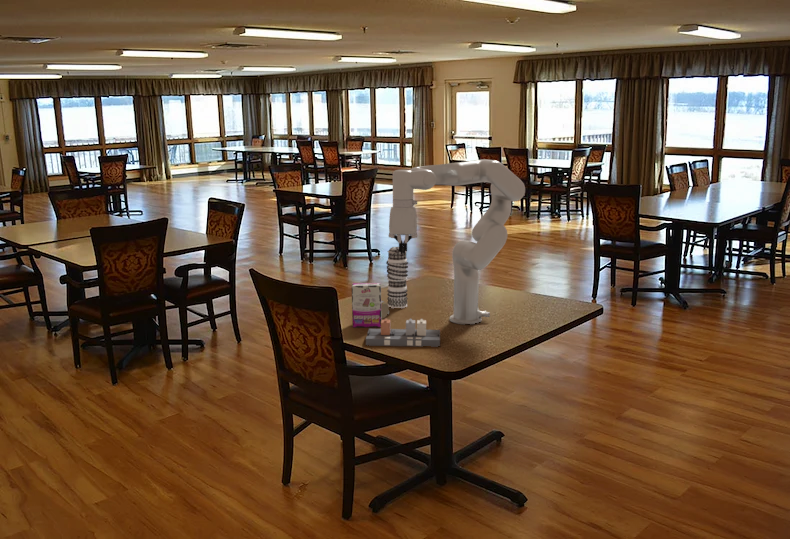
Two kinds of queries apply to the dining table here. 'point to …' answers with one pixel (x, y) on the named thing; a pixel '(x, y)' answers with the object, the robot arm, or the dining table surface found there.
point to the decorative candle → (397, 278)
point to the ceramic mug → (384, 309)
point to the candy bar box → (366, 305)
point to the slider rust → (385, 327)
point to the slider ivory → (421, 327)
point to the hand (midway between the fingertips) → (403, 253)
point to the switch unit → (402, 338)
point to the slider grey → (410, 327)
